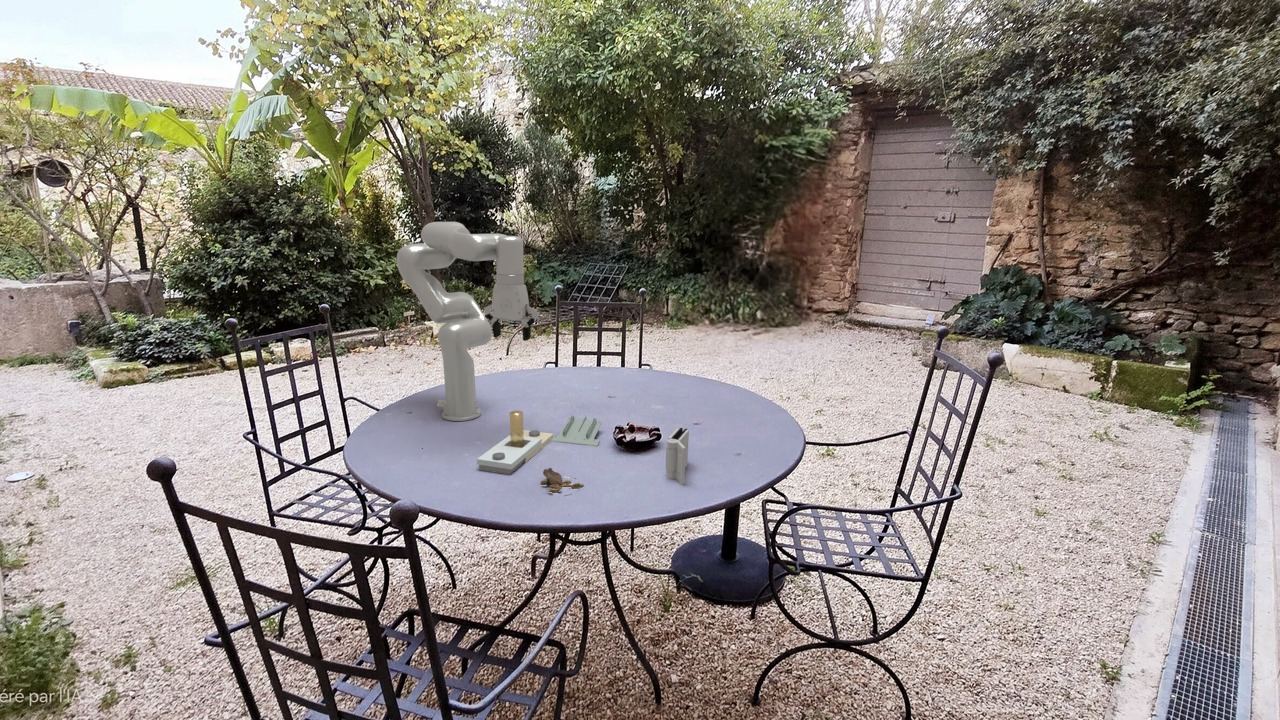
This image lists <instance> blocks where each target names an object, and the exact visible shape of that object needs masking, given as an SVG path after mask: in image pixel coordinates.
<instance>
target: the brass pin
mask: <svg viewBox="0 0 1280 720" xmlns="http://www.w3.org/2000/svg"><path fill="white" fill-rule="evenodd" d="M524 430H525V429H524V412H523V411H522V410H512V411H510V412H509V431H510V434H509V435H511V447H517V448H523V447H524Z"/></svg>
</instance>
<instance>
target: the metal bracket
mask: <svg viewBox="0 0 1280 720" xmlns="http://www.w3.org/2000/svg"><path fill="white" fill-rule="evenodd" d="M602 423H603V420H598V419H597V418H595V417H593V418H592V419H589V418H588V419H587V415H584V418H577V417H575V416H574V415H571V416H570V417H568V418H567V420H566V421H565V423H564V425H563V427H562V429H561V430H560V432H559V434H553V437H552V439H551V441H550V442H551V443H557V444H558V443H562V444H570V445H580V446H585V447H591V448H597V447H598V446H599V443H600V439H595V438H596V435H597V434H598V431H599V430H600V427H601V425H602ZM550 442H549V443H550Z"/></svg>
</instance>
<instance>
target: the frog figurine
mask: <svg viewBox="0 0 1280 720" xmlns="http://www.w3.org/2000/svg"><path fill="white" fill-rule="evenodd" d="M542 475H543V476H544V477H545V478H544V480H541V481H540V483H539V484H540V485H546V484H547V483H549V488H545V490H547V491H548V492H552V493H556V492H557V493H558V492H559V491H560V490H561V489H562V487H571V488H569V489H580V488H582V489H584V488H585V484H584V483H583V482H582V481H580V480H579V481H580V482H578V483H577V482H576V483H573V481H572V480H568V479H569V478H574V479H573V480H576V479H577V478H575V477H572V476H570V475H569V476H567V475H565V476H563V477H562V474H561V473H559V472H555V471H554V470H553V468H552V467H548V468H544V469H543V473H542ZM563 478H565V479H567V480H563ZM571 481H572V482H571ZM571 483H572V485H569V484H571ZM583 487H584V488H583ZM580 490H581V489H580ZM548 492H547V493H548Z"/></svg>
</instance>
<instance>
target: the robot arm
mask: <svg viewBox="0 0 1280 720" xmlns="http://www.w3.org/2000/svg"><path fill="white" fill-rule="evenodd" d="M420 238H421V240H422V242H423V243H411V244H406V245H404V246H402V247H400V249H399V250H398V251H397V254H396V265H397V269H398V272H399V274H400V276H401V278H402V279H403V281H404V282H405V283H406V285H408V287H409V288H410V289H411V290H412V292H413V293H414V295H416V297H417V298H418V300H419V302H420V304H421V305H422V307H423V309H424V310H425V312H426V313H427V316H428V317H429V318H430V319H431V321H432V322H434V323H435V324H440V325H441V324H442V325H441V326H440V327H439V329H438V332H437V338H438V339H437V340H438V343H439V346H440V352H441V355H442V357H441V358H442V362H443V363H442V364H443V375H444V376H443V377H444V391H445V392H444V393H445V394H444V395H445V400H444V399H439V400H438V401H437V404H436V407H437V408H439V409H442V408H443V410H442V412H441V417H442V419H444V420H447V421H452V422H463V421H465V422H466V421H470V420H474V419H476V418H478V417H480V416H481V415H482V409H481V408H480V407H478V406H477V393H476V391H477V390H476V375H475V374H476V373H475V371H476V370H475V362H474V359H473V357H472V355H471V354H470V353H469V351H468V350H470V349H471V348H476V347H481V346H484V345H486V344H488V343H489V342H490V341H491V339H492V338H497V337H500V336H501V335H502V330H501V329H502V327H501V326H502V325H501V322H500V320H504V321H515V322H521V323H522V325H523V327H522V340H523V341H525V342H526V341H528V340H530V339H531V335H532V326H533V325H534V324H535V322H537V319H538V317H539V316H540V313H539V311H537V310H536V309H534V308H533V307H531V306H530V301H529V294H528V289H527V285H526V284H525V282H524V281H525V280H524V279H525V278H524V277H525V275H524V270H525V269H524V267H525V266H524V241H523V238H522V237H521V236H517V235H506V234H502V233H471V232H470V231H469V229H467V228H466V227H465V225H464V224H463V223H460V222H458V221H433V222H429V223H427V224H426V225H424V226H423V228H422V229H421V232H420ZM456 259H461V260H464V261H470V262H483V261H485V262H486V261H496V274H493V277H492V279H493V280H496V283H495V284H494V285H493V289H492V298H491V304H489V305H487V306H485V307H483V311H484V313H485V314H484V313H483V311H482V309H481V308H480V306H479V305H478V303H477V302H476V300H475V298H473V296H472V295H470V294H469V293H467V292H464V291H457V292H447V291H446V290H445V289H444V287H443V285H442V284H441V282H440V281H439V279H437V278H436V277H435V276H434V275H432V274H431V273H429V272H427V271H428V270H435V269H446V268H448V267H449V266H451V265H452V264H453V263H454V261H455V260H456ZM426 270H427V271H426ZM530 315H531V317H530ZM489 321H490V322H489ZM490 324H491V325H492V326H491V325H490Z"/></svg>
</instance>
